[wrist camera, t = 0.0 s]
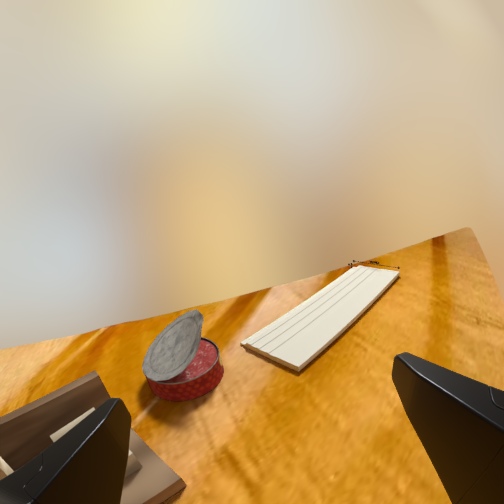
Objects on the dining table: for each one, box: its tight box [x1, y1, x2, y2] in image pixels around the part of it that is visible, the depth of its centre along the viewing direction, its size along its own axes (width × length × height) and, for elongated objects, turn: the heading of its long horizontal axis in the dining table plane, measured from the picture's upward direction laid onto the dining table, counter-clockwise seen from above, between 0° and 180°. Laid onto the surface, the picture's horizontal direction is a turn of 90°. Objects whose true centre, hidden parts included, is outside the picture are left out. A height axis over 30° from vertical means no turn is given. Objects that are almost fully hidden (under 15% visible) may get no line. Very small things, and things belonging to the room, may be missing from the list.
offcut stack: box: [50, 407, 143, 477], centre depth 18 cm, size 6×7×4 cm
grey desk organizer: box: [0, 371, 187, 504], centre depth 14 cm, size 12×22×8 cm, turn 138°
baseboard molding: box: [240, 260, 399, 372], centre depth 46 cm, size 31×3×12 cm
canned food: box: [142, 309, 224, 401], centre depth 34 cm, size 11×10×10 cm
